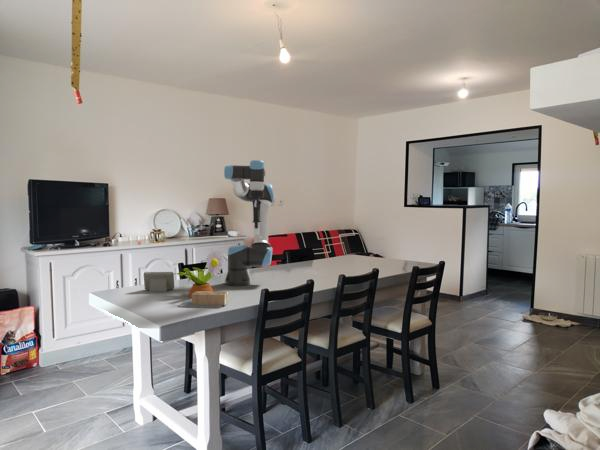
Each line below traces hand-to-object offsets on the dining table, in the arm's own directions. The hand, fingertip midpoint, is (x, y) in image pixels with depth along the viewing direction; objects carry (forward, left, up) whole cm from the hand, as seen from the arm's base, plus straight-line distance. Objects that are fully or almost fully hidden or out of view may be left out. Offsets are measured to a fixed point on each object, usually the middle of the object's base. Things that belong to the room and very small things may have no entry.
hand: (256, 234), depth 227 cm
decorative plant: (+2, -29, -33) cm, 44 cm away
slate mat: (+23, -23, -32) cm, 46 cm away
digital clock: (-7, -55, -33) cm, 64 cm away
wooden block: (+22, -12, -30) cm, 39 cm away
